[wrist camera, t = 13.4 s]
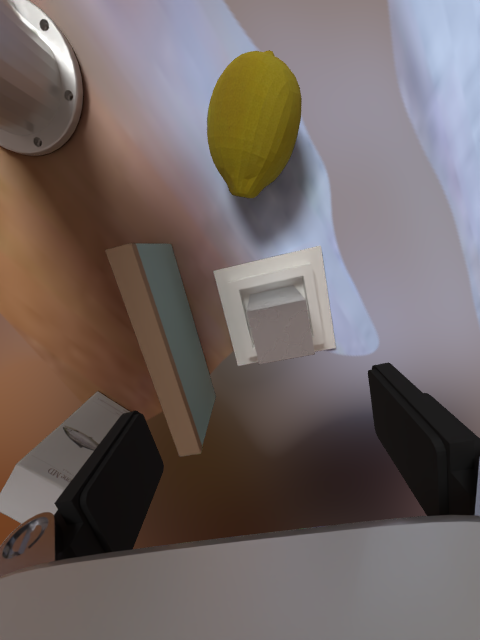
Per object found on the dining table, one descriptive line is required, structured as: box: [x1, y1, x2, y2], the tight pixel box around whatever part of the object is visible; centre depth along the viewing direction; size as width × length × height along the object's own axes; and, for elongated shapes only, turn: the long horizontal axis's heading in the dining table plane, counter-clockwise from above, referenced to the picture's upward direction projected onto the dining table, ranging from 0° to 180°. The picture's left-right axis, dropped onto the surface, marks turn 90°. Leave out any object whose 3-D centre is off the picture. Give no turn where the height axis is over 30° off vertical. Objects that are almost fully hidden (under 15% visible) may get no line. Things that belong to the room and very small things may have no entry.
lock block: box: [247, 285, 315, 364], centre depth 26 cm, size 5×5×8 cm
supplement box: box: [0, 392, 130, 523], centre depth 31 cm, size 7×7×13 cm
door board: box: [105, 243, 216, 456], centre depth 27 cm, size 20×2×10 cm, turn 13°
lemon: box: [207, 50, 301, 198], centre depth 22 cm, size 11×8×8 cm
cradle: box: [213, 246, 336, 366], centre depth 30 cm, size 12×12×2 cm
